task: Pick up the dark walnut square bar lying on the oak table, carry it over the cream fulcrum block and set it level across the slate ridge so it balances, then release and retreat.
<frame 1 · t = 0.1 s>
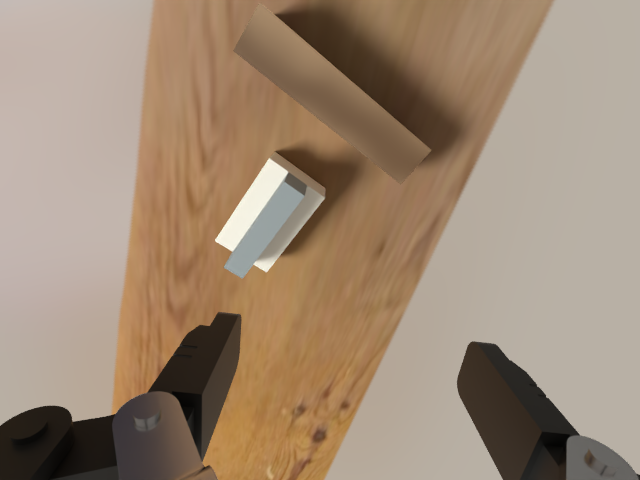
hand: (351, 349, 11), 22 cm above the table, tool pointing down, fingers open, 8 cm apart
fulcrum: (272, 208, 33), on the table
walnut bar: (336, 100, 28), on the table
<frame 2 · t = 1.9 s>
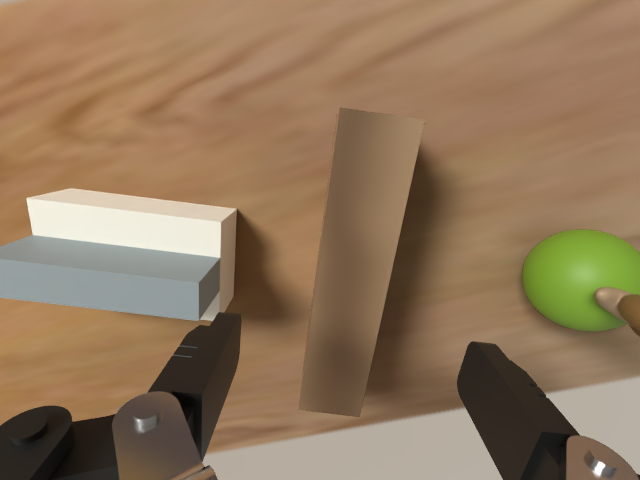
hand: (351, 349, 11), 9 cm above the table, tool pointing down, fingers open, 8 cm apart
fulcrum: (156, 245, 20), on the table
walnut bar: (346, 251, 20), on the table
snail figurine: (552, 262, 20), on the table
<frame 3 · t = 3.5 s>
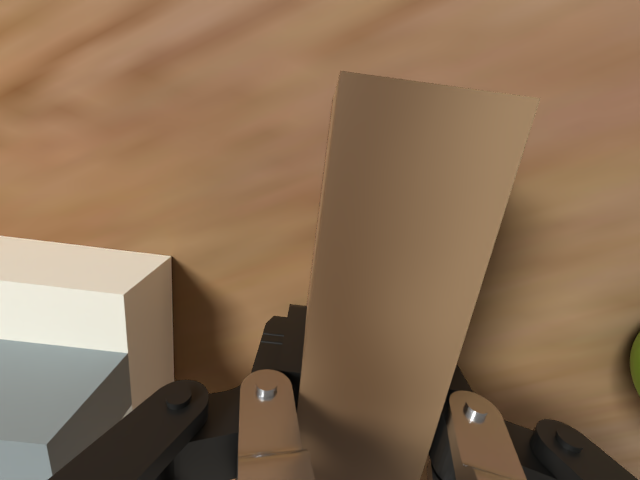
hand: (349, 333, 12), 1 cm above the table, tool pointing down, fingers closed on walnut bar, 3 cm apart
fulcrum: (46, 310, 13), on the table
walnut bar: (348, 321, 13), on the table, touching gripper
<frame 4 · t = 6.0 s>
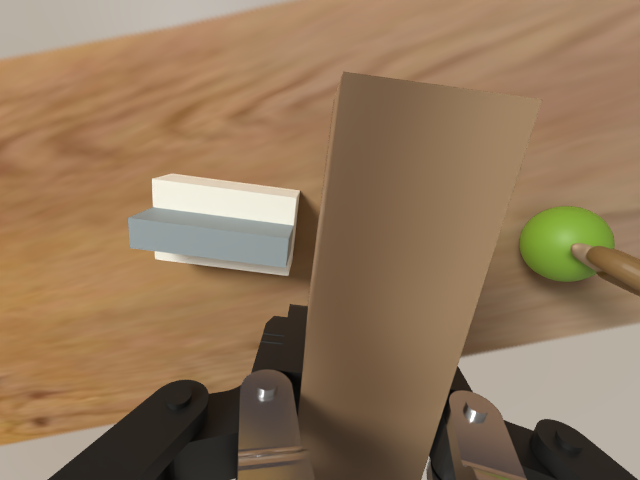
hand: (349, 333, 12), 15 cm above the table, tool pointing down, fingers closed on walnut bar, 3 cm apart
fulcrum: (234, 219, 26), on the table
walnut bar: (349, 321, 13), point 14 cm above the table, touching gripper
snail figurine: (543, 234, 26), on the table
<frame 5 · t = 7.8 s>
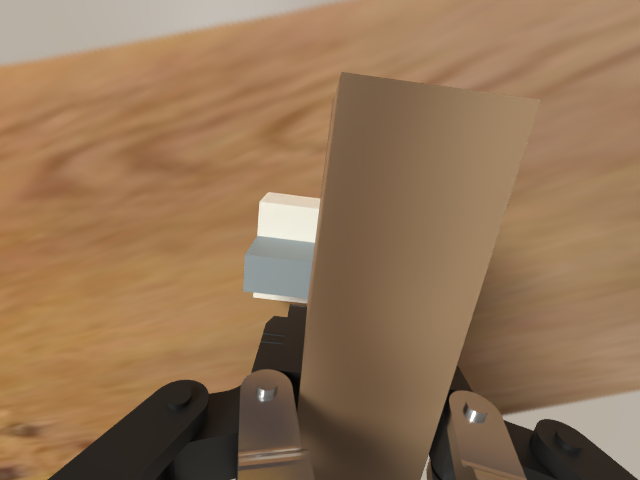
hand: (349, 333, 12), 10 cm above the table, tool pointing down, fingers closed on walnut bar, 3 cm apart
fulcrum: (338, 245, 22), on the table
walnut bar: (348, 322, 13), point 9 cm above the table, touching gripper
when the fingers open (7 cm above the table, at t = 8.9 s): walnut bar stays where it is, resting on fulcrum.
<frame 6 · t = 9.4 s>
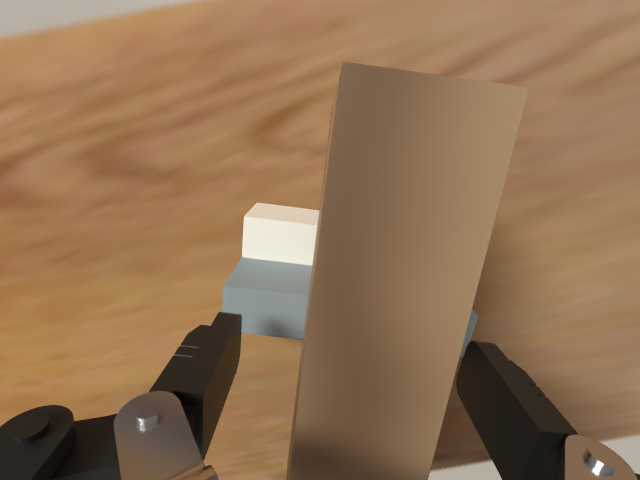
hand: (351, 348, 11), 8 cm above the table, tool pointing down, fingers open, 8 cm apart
fulcrum: (340, 264, 18), on the table
walnut bar: (349, 328, 13), point 6 cm above the table, touching fulcrum
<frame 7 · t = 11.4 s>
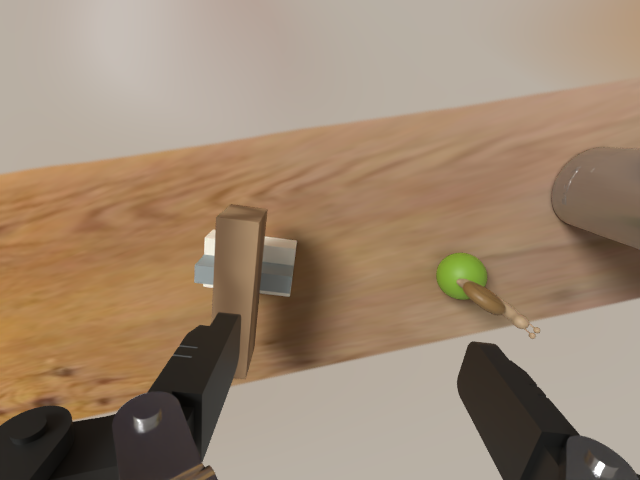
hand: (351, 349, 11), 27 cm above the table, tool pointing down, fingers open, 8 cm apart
fulcrum: (253, 258, 39), on the table
walnut bar: (243, 281, 33), point 6 cm above the table, touching fulcrum
snail figurine: (453, 267, 40), on the table
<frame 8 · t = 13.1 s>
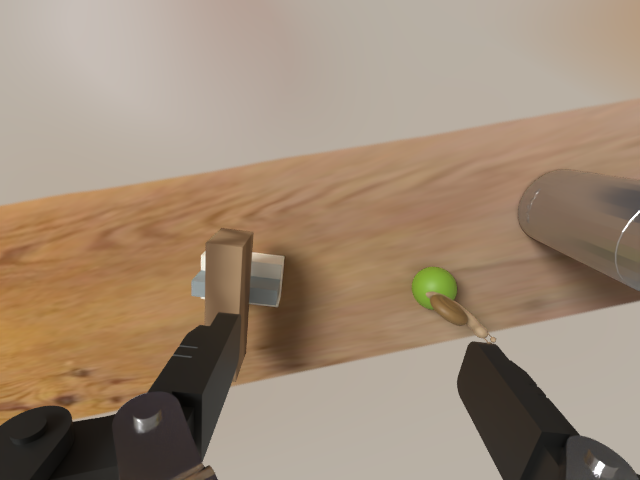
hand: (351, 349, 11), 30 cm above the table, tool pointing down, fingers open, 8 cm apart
fulcrum: (246, 272, 43), on the table
walnut bar: (234, 294, 38), point 6 cm above the table, touching fulcrum
snail figurine: (429, 279, 43), on the table
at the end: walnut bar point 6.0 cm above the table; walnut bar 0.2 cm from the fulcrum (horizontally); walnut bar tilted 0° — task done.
